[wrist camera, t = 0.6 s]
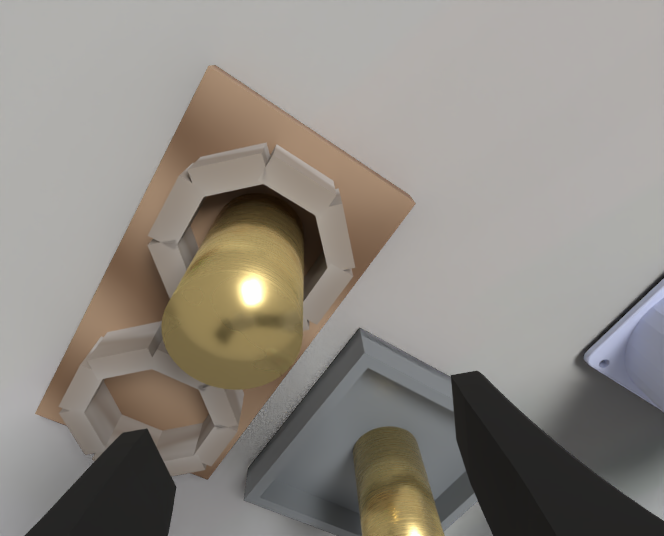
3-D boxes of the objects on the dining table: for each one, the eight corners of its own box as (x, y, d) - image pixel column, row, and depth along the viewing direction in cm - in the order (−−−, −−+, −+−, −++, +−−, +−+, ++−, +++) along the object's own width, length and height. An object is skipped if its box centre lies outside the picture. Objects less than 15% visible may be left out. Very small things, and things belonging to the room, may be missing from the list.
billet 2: (431, 442, 24) (476, 579, 18) (392, 482, 25) (420, 624, 19) (378, 416, 23) (405, 552, 17) (339, 459, 24) (351, 601, 18)
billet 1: (321, 223, 18) (328, 315, 11) (275, 290, 19) (259, 408, 13) (241, 174, 17) (201, 246, 10) (198, 249, 18) (138, 354, 12)
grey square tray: (522, 416, 24) (540, 445, 23) (402, 530, 28) (408, 562, 26) (359, 327, 21) (364, 352, 19) (248, 468, 25) (243, 500, 23)
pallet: (215, 64, 16) (195, 66, 13) (409, 194, 19) (428, 220, 16) (48, 396, 22) (9, 447, 19) (211, 461, 25) (199, 514, 22)
